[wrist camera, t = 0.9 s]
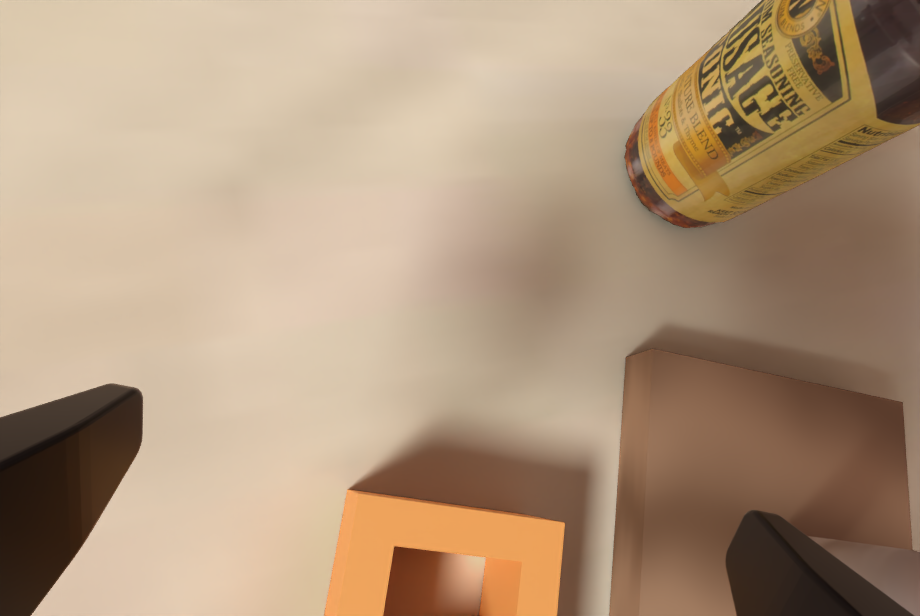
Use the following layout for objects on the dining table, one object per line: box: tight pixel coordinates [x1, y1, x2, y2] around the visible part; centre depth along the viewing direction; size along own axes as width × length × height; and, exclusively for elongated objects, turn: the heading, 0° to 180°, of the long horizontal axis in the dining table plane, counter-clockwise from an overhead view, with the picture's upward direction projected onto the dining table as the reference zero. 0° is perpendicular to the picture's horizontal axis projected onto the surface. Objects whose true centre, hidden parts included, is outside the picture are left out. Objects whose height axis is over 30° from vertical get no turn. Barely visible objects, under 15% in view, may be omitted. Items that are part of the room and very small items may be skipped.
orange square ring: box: [324, 489, 565, 616], centre depth 19 cm, size 7×7×4 cm
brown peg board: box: [609, 349, 920, 616], centre depth 21 cm, size 14×12×7 cm
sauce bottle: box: [625, 0, 920, 228], centre depth 19 cm, size 7×6×20 cm
